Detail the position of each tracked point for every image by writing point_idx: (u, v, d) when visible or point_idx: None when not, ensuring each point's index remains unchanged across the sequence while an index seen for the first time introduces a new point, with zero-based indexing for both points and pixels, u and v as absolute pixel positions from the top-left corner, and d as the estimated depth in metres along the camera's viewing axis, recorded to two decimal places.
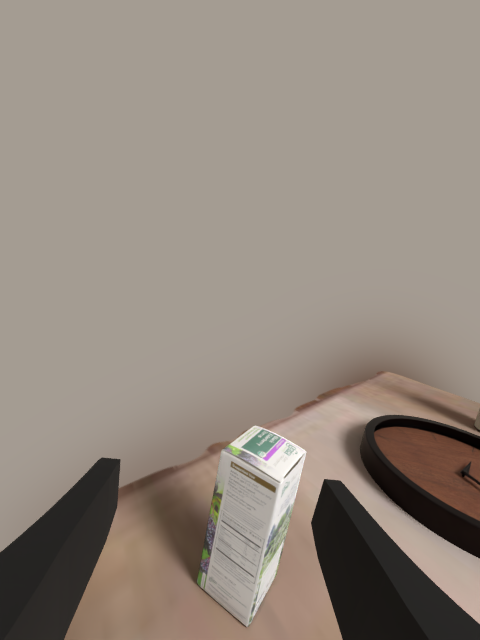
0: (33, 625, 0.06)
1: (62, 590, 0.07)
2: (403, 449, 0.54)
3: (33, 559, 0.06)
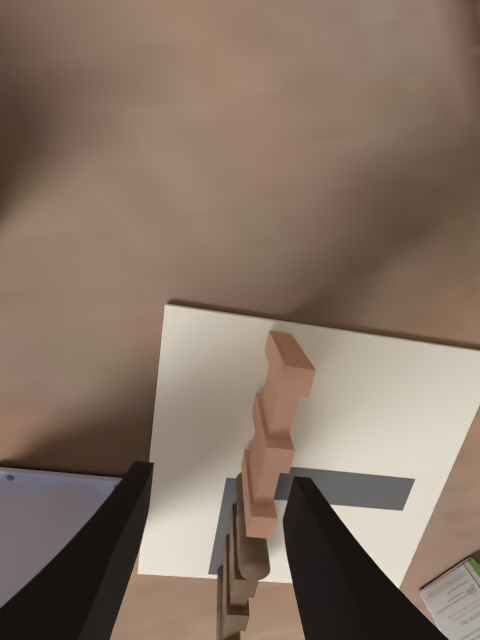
0: (93, 627, 0.06)
1: (111, 593, 0.07)
2: None
3: (88, 562, 0.06)
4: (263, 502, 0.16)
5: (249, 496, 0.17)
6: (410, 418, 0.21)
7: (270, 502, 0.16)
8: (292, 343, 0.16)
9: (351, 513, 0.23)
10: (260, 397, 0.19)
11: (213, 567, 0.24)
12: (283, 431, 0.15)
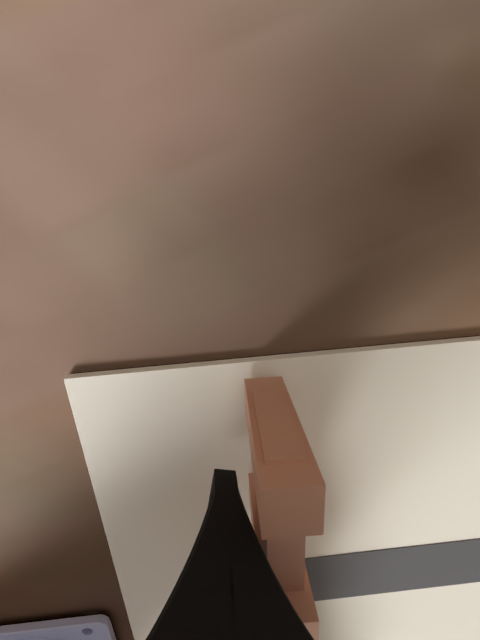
0: None
1: None
2: None
3: (220, 571, 0.06)
4: None
5: None
6: None
7: None
8: (280, 406, 0.09)
9: (431, 595, 0.16)
10: (255, 482, 0.12)
11: None
12: (292, 579, 0.08)
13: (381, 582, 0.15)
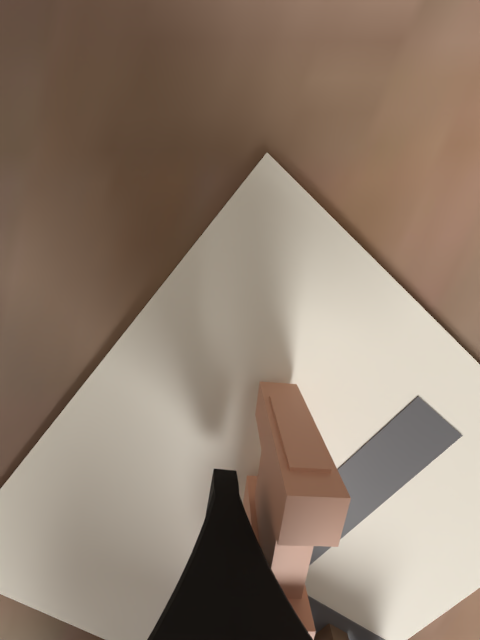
0: None
1: None
2: None
3: (221, 571, 0.06)
4: None
5: None
6: (293, 360, 0.11)
7: None
8: (299, 414, 0.09)
9: (403, 500, 0.14)
10: (253, 485, 0.12)
11: None
12: (292, 587, 0.08)
13: None
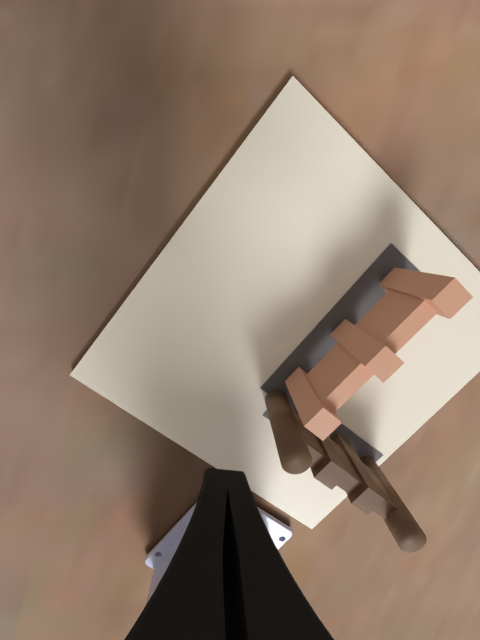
0: None
1: None
2: None
3: (204, 570, 0.06)
4: (331, 404, 0.16)
5: (315, 395, 0.16)
6: (309, 215, 0.18)
7: (336, 408, 0.16)
8: None
9: None
10: (350, 323, 0.19)
11: None
12: (396, 344, 0.15)
13: None
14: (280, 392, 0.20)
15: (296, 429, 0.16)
